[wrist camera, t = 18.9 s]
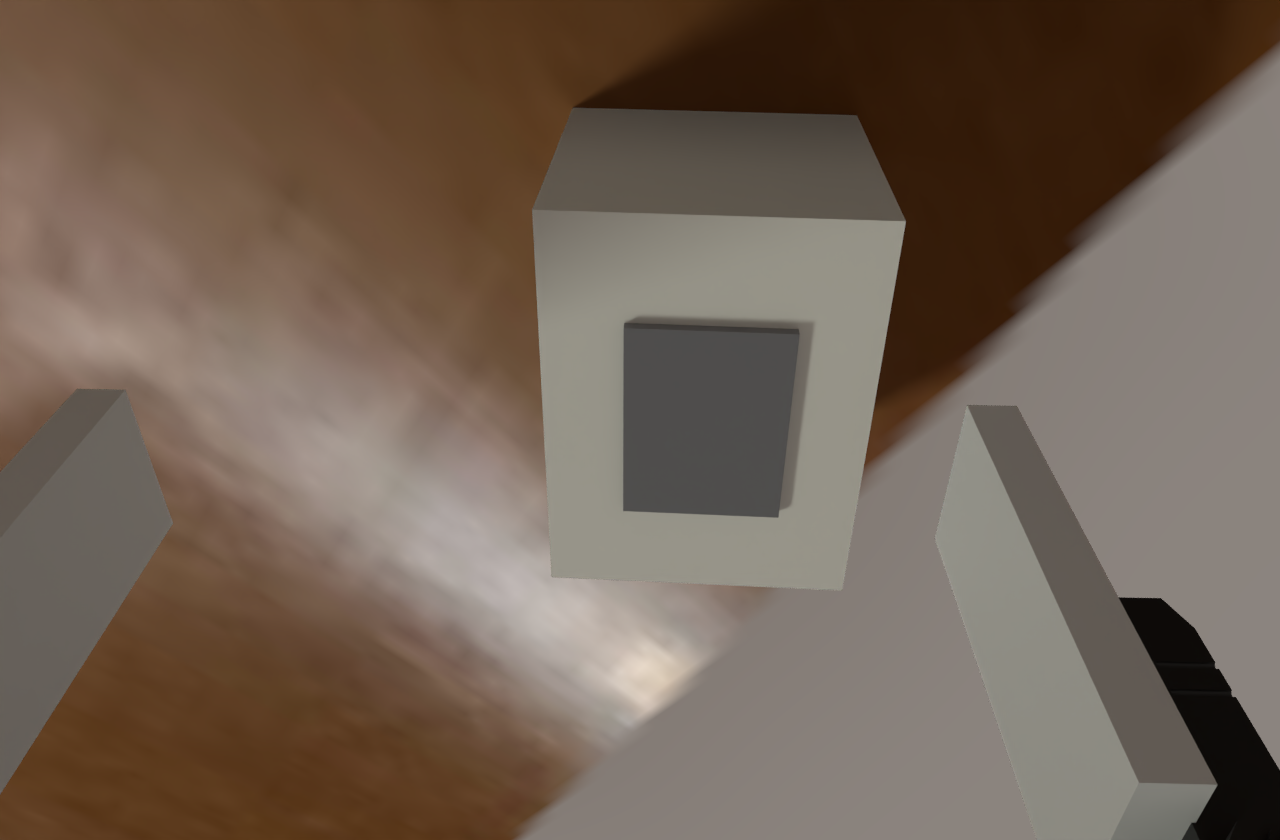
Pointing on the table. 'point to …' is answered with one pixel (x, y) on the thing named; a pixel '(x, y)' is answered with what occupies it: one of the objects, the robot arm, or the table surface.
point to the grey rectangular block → (710, 342)
